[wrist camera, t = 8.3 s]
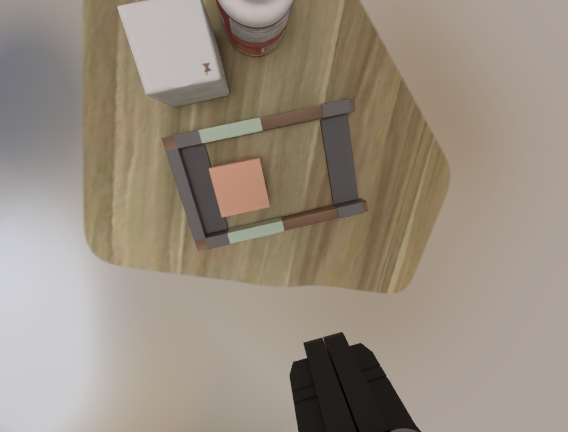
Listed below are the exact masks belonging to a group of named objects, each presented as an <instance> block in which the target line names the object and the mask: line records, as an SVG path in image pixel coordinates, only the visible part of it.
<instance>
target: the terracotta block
mask: <svg viewBox="0 0 568 432" xmlns="http://www.w3.org/2000/svg"><path fill="white" fill-rule="evenodd" d="M209 172H210V176H211V180H212V183H213V187H214V191H215V194H216V198H217V202H218V206H219V209H220V213H221V217H227V216H231V215H236V214H241V213H245V212H250V211H255V210H259V209H264V208H269V207H270V205H269V200H268V195H267V191H266V186H265V181H264V177H263V172H262V167H261V163H260V158H259V157H254V158H249V159H244V160H239V161H234V162H229V163H225V164H220V165H215V166H213V167H211V168H209Z"/></svg>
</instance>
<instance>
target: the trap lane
mask: <svg viewBox="0 0 568 432" xmlns="http://www.w3.org/2000/svg"><path fill="white" fill-rule="evenodd" d="M352 111H355V102H354V98H353V99H346V100H341V101H336V102H331V103H326V104H322V105H320V106H315V107H310V108H305V109H301V110H296V111H291V112H286V113H281V114H277V115H272V116H267V117H262V118H260V117H259V118H254V119H250V120H245V121H240V122H235V123H230V124H226V125H221V126H216V127H211V128H206V129H202V130H197V131H192V132H187V133H182V134H178V135H173V136H171V137H166V138H162V140H163V144H164V147H165V150H166V153H167V156H168V159H169V162H170V165H171V168H172V172H173V175H174V178H175V181H176V184H177V187H178V190H179V193H180V197H181V200H182V203H183V206H184V209H185V212H186V215H187V218H188V221H189V225H190V228H191V231H192V234H193V237H194V240H195V243H196V246H197V250H198V251H199V250H203V249H211V248H215V247H219V246H224V245H228V244H232V243H236V242H241V241H245V240H249V239H254V238H258V237H262V236H266V235H271V234H275V233H279V232H284V231H285V230H289V229H293V228H298V227H302V226H306V225H311V224H315V223H319V222H323V221H328V220H332V219H336V218H344V217H348V216H352V215H357V214H361V213H364V212H366V211H368V210H367V202H366V201H365V200H363V199H359V200H358V194H357V186H356V178H355V170H354V163H353V155H352V147H351V140H350V132H349V124H348V116H347V115H343V116H339V117H334V118H329V119H325V120H320V123H321V129H322V135H323V142H324V148H325V154H326V161H327V167H328V173H329V180H330V186H331V193H332V199H333V204H335V205H332V206H328V207H324V208H319V209H315V210H311V211H306V212H302V213H298V214H293V215H289V216H285V217H279V218H274V219H270V220H265V221H261V222H257V223H252V224H248V225H244V226H239V227H235V228H231V229H228V225H227V222H226V218H225V217H221V213H220V209H219V206H218V202H217V198H216V194H215V191H214V187H213V183H212V180H211V176H210V172H209V168H211V164H210V161H209V157H208V154H207V150H206V146H205V145H202V146H197V147H192V148H187V149H183V150H182V148H186V147H190V146H195V145H200V144H204V143H209V142H214V141H219V140H223V139H228V138H233V137H238V136H242V135H247V134H252V133H257V132H261V131H264V130H268V129H273V128H278V127H283V126H287V125H292V124H297V123H302V122H306V121H311V120H316V119H323V118H328V117H332V116H337V115H342V114H346V113H349V112H352ZM354 199H357V200H354ZM350 200H352V201H350ZM346 201H348V202H346ZM341 202H344V203H341ZM337 203H339V204H337ZM224 229H226V230H224ZM220 230H222V231H220ZM215 231H218V232H215ZM211 232H213V233H211ZM207 233H209V234H207Z"/></svg>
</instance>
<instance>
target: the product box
mask: <svg viewBox="0 0 568 432" xmlns="http://www.w3.org/2000/svg"><path fill="white" fill-rule="evenodd" d="M117 8H118V11H119V14H120V17H121V20H122V23H123V26H124V29H125V32H126V35H127V39H128V41H129V45H130V48H131V51H132V54H133V57H134V60H135V63H136V66H137V69H138V73H139V76H140V79H141V82H142V85H143V88H144V92H145V94H146V95H148V96H150V97H153V98H155V99H157V100H160V101H162V102H164V103H166V104H169V105H171V106H173V107H178V106H183V105H188V104H193V103H197V102H202V101H207V100H211V99H215V98H220V97H224V96H228V95H229V90H228V86H227V81H226V77H225V73H224V69H223V65H222V61H221V57H220V53H219V49H218V45H217V42H216V38H215V34H214V31H213V28H212V26H211V23H210V20H209V17H208V14H207V12H206V9H205V6H204V4H203V1H202V0H145V1H140V2H135V3H130V4H125V5H119V6H117Z"/></svg>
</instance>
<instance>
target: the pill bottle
mask: <svg viewBox="0 0 568 432" xmlns="http://www.w3.org/2000/svg"><path fill="white" fill-rule="evenodd" d="M216 2H217V6H218V10H219V14H220V17H221V21H222V25H223V28H224V31H225V34H226V36H227V38H228V39H229V41H230V42H231V44H232V45H233V46H234V47H235V48H236V49H237V50H239V51H240V52H242V53H244V54H247V55H250V56H262V55H265V54H267V53H269V52H271V51H272V50H274V49H275V48H276V47H277V46H278V44H279V43H280V41H281V40H282V37H283V35H284V32H285V29H286V25H287V21H288V18H289V14H290V11H291V7H292V4H293V0H216Z"/></svg>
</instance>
